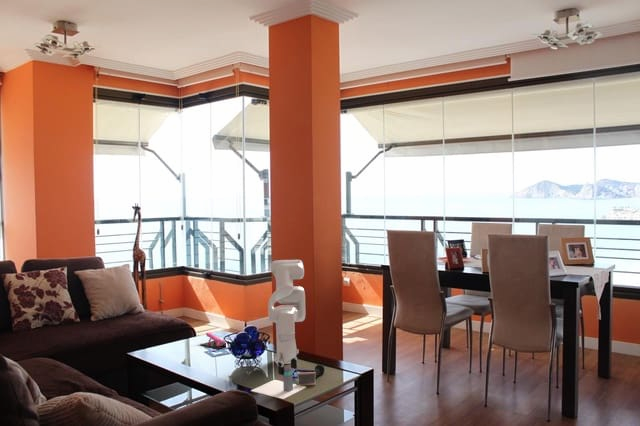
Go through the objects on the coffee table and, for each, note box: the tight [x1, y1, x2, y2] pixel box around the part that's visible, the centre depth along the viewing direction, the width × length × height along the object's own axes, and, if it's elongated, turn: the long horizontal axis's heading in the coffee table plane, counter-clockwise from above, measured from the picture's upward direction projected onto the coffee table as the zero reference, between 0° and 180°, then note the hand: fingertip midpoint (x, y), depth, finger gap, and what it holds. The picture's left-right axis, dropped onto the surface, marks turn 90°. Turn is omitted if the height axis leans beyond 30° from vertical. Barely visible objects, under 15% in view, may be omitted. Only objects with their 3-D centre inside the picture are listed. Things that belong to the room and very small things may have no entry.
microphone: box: [313, 364, 326, 378], centre depth 282 cm, size 5×5×19 cm
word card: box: [296, 371, 317, 386], centre depth 272 cm, size 1×9×6 cm, turn 95°
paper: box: [250, 379, 307, 400], centre depth 267 cm, size 18×20×1 cm
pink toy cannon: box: [198, 331, 226, 351], centre depth 347 cm, size 15×20×7 cm
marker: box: [282, 367, 294, 392], centre depth 264 cm, size 3×3×10 cm
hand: (287, 371), depth 265 cm, fingers open, 9 cm apart
